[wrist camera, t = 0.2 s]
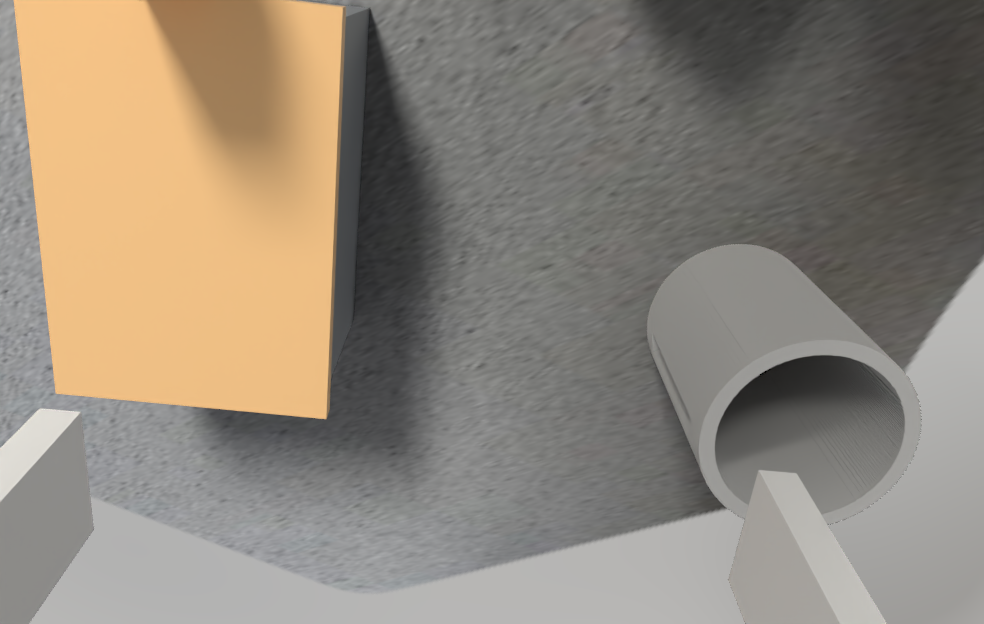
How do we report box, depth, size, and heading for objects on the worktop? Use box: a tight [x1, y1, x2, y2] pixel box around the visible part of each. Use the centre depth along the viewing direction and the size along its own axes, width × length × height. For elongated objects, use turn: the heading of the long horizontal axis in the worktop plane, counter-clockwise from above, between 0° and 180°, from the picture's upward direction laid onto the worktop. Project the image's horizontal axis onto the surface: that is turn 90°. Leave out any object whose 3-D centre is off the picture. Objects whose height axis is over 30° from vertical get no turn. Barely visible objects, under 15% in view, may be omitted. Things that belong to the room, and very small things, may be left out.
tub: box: [297, 0, 370, 377], centre depth 37 cm, size 16×11×9 cm
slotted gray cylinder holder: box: [647, 244, 922, 525], centre depth 39 cm, size 9×9×12 cm
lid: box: [14, 0, 346, 419], centre depth 28 cm, size 22×12×8 cm, turn 174°
